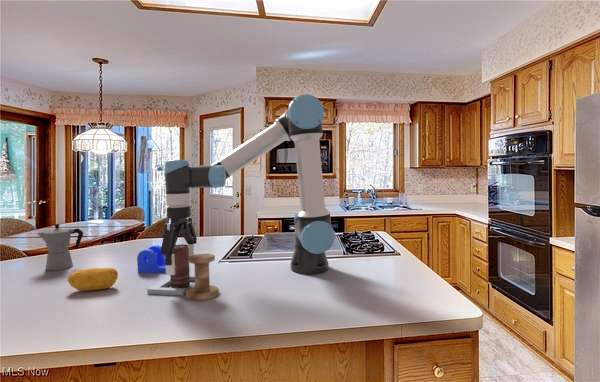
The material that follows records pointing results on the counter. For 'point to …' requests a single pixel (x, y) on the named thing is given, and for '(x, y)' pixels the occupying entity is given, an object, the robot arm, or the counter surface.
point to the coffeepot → (59, 247)
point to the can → (181, 267)
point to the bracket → (151, 260)
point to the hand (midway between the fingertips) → (181, 268)
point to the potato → (93, 278)
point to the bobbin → (202, 278)
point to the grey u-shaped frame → (161, 288)
